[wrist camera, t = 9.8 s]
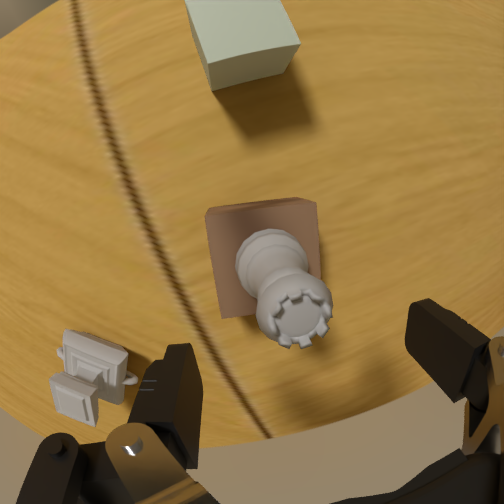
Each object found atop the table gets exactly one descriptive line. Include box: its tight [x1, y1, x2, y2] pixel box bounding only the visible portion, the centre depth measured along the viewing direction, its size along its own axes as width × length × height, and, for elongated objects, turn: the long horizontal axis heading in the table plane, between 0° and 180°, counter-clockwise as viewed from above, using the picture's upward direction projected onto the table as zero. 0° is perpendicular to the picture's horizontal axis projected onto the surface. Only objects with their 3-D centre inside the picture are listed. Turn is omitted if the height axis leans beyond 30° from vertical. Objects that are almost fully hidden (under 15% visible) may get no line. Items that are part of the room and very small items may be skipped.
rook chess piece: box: [235, 229, 333, 349], centre depth 14 cm, size 4×4×8 cm
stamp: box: [49, 329, 138, 427], centre depth 20 cm, size 9×7×8 cm
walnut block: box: [205, 197, 321, 319], centre depth 20 cm, size 7×7×5 cm
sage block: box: [185, 0, 301, 91], centre depth 16 cm, size 6×6×6 cm
